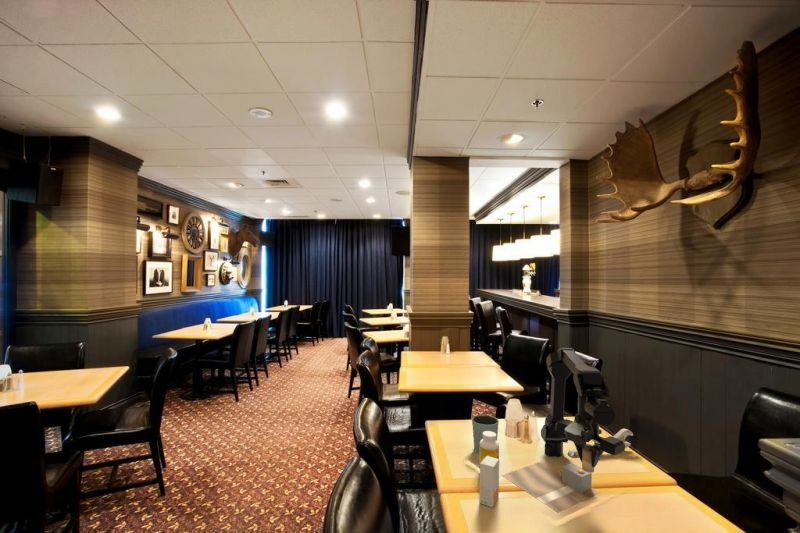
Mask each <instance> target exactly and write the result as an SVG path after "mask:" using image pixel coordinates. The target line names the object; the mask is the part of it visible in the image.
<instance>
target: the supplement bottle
mask: <svg viewBox="0 0 800 533" xmlns="http://www.w3.org/2000/svg"><path fill="white" fill-rule="evenodd" d="M486 456H490V457H493V458H497V459H499V460H500V443H499V441H498V440H497V441H496V433H494V432H491V431H484V432H483V439H482V440H481V441H480V452H479V462H478V464H479V467H478V468H479V469H480V463H481V462H482V461H483V459H484V458H485V457H486Z"/></svg>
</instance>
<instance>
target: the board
mask: <svg viewBox="0 0 800 533" xmlns="http://www.w3.org/2000/svg"><path fill="white" fill-rule="evenodd" d="M501 477H503V478H505V479H506V480H508V481H510V482H511V483H512V484H514V485H515V486H517V487H519V488H520V489H522V490H523V492H526V493H527V494H529V495H530V496H532V497H534V498H535V499H536V500H538V501H540V502H541V503H543V504H544V505H546V506H547V507H548V508H550V509H552V510H553V511H555V512H556V513H560V512H562V511H564V510H566V509H568V508H570V507H573V506H575V505H578V504H579V503H581V502H583V501H585V500H587V499H591V498H592V497H594V496H597V495H598V494H601V492H600V491H598V490H596V489H595V488H593V487H592V489H590V490H588V491H585V492H583V493H580V492H579V491H577V490H575V489H573V488H572V487H570V486H568V485H566V484H565V483H563V482H562V470H559V469H558V468H555V467H554V466H552V465H550V464H549V463H547V462H545V461H543V460H541V461H539V462H535V463H533V464H530V465H528V466H527V465H526V466H525V467H521V468H519V469H516V470H513V471H510V472H507V473H504V474H502V475H501Z"/></svg>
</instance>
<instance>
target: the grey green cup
mask: <svg viewBox="0 0 800 533" xmlns="http://www.w3.org/2000/svg"><path fill="white" fill-rule="evenodd" d="M471 424H472V433H473V436H472V437H473V449H474V451H475V453H477V454H478V453H480V441H481V440H482V439H483V432H484V431H491V432H494V433H496V441H497V442H498V432H499V419H498V417H497V418H496V417H495V416H493V415H489V414H477V415H474V416H473V417H471Z"/></svg>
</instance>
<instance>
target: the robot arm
mask: <svg viewBox="0 0 800 533" xmlns="http://www.w3.org/2000/svg"><path fill="white" fill-rule="evenodd" d="M545 363H546V367H547V370H548V372H549V374H550V375H551V388H550V389H551V390H550V408H549V414H548V415H547V416H546V417H545V418H544V424H543V425H542V427H541V429H540V436H541V439H542V440H543V441H544V455H546V456H547V457H549V458H554V457H555V458H558V457H559V458H560V457H562V456H563V454H564V443H566V444H567V443H569V441H570V442H572V443H573V444H574V447H575V449H577V452H578V457H579V460H580V462H581V463H582V448H583V447H584V444H587V443H590V441H592V442H593V444H594V445H592V446H590V448H591V450H592V467H593V468H594V469H595V467H596V466H597V465H598V463H599V461H600V459H601V457H602V455H603V454H604V453H606V454H609V455H611V456H616V455H618V454H621V453H623V452H625V451H626V449H625V444H624V442H623V441H622V440H620V439H617V438H615V437H613V436H611V435H610V436H606V437H604V436H600V435H602V434H603V432H602V429H600V426H601V427H602V426H603V427H607V426H610V425H611V424H613V422H614V421H615V419H616V414H615V410H614V408H612V407H611V406H610V405H609V404H608V403H609V402H608V400H607V399H609V398H610V395H609V393H610V390H609V388H608V385H607V381H606V379H605V377H604V375H603V374H602V372H601V371H600V370H599V369H597V368H596V367H594V366H590V365H588V364H586V363H585V361H583V359H582V358H581V356H579V354H577V352H576V350H575V349H574V348H572V347H560V348H557V350H555V351H553V352H551V353H549V354H548V355H547V357H546V362H545ZM571 374H573V377H572V378H573V379H572V380H573V383H574V386H575V388H576V392H577V413H576V414H574V419H573V420H570V419H568V418H564V416H565V400H566V399H565V397H566V396H565V395H566V381H567V379H568V378H569V376H570V375H571ZM606 398H607V399H606Z"/></svg>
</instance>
